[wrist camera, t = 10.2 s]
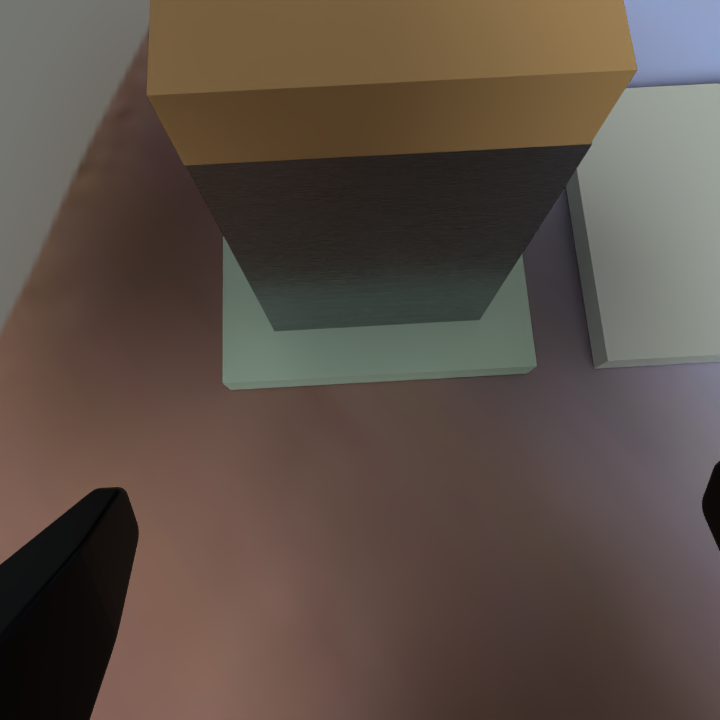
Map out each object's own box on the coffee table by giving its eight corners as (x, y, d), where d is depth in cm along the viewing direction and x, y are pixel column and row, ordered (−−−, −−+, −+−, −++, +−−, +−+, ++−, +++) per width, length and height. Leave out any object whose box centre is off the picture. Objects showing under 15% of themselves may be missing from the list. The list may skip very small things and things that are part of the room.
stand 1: (527, 373, 17) (536, 365, 16) (230, 389, 17) (222, 383, 16) (494, 115, 19) (501, 95, 18) (230, 129, 19) (223, 110, 18)
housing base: (479, 319, 17) (592, 144, 8) (274, 331, 17) (186, 166, 8) (459, 139, 18) (539, -162, 10) (270, 149, 18) (191, -144, 10)
